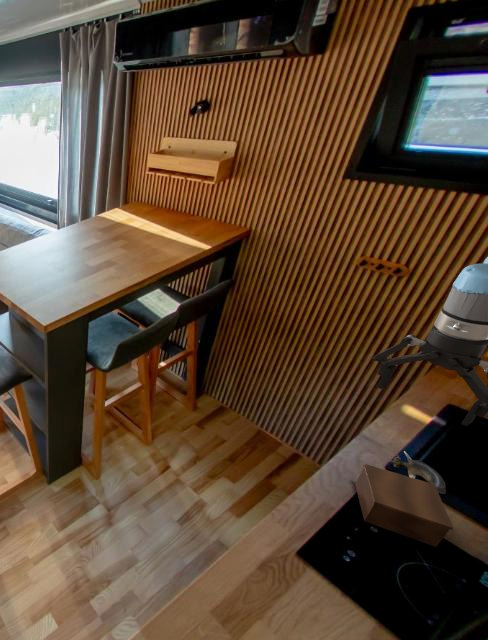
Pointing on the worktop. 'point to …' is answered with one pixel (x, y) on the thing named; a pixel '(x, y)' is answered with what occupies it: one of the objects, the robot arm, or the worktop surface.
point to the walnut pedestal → (402, 505)
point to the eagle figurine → (421, 472)
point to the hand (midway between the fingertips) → (421, 403)
